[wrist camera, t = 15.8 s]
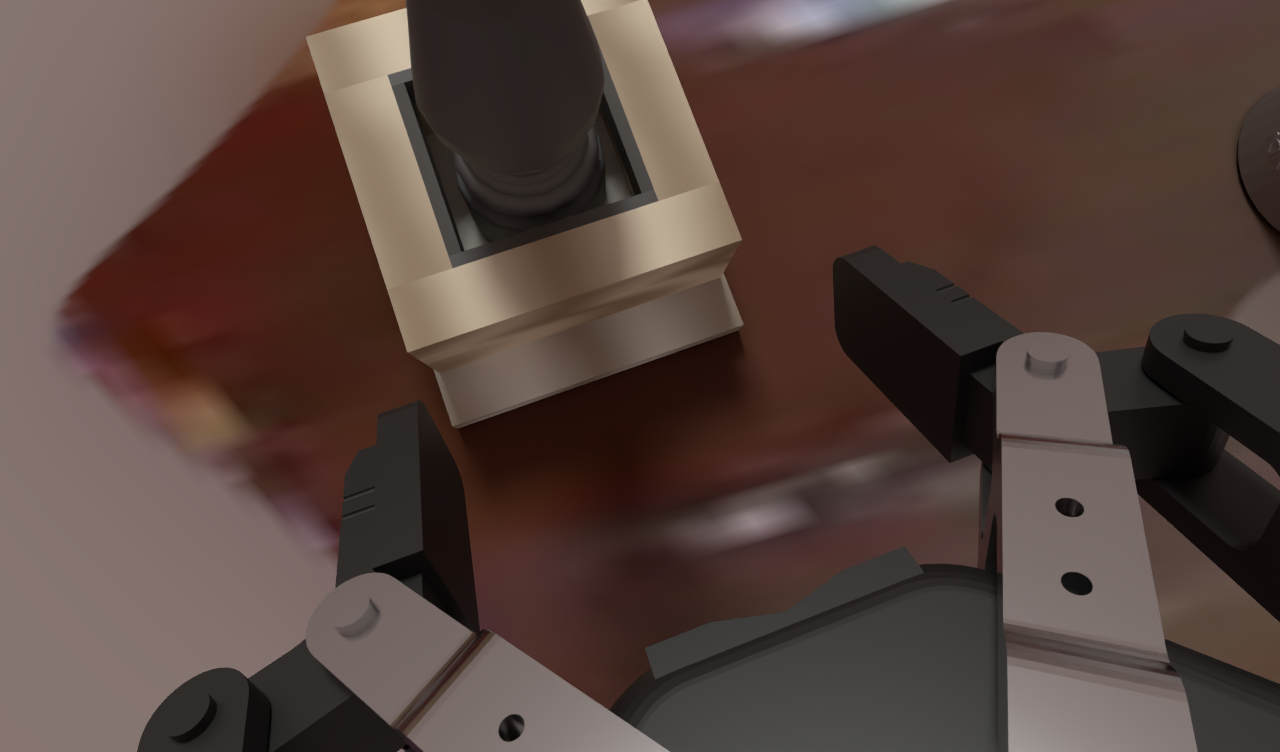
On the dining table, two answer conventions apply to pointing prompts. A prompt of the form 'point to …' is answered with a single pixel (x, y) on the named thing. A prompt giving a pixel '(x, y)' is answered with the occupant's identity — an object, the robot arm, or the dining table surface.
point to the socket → (547, 255)
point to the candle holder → (512, 105)
